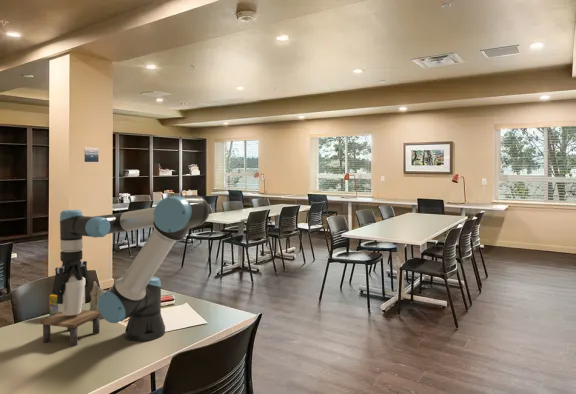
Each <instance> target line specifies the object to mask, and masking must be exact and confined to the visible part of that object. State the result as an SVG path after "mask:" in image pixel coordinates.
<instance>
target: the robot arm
mask: <svg viewBox="0 0 576 394" xmlns="http://www.w3.org/2000/svg"><path fill="white" fill-rule="evenodd" d="M209 215H210V206H209V203H208V202H207V200H206V199H205V198H204V197H203V196H200V195H197V194H191V195H190V194H188V195H171V196H168V197H165V198H162V199H161V200H160V201H159V202H158V203H157V204H156V205H155V207H149V208H147V207H146V208H142V209H136V210H131V211H124V212H119V213H112V214H105V215H104V214H102V215H96V216H95V215H94V216H86V215H83V211H82V210H80V209H65V210H62V211H61V212H60V214H59V235H60V236H59V237H60V238H59V239H60V243H59V244H60V246H59V247H60V256H59V257H60V262H62V264H61V266H60V267H55V269H54V271H55V276H54V281H53V285H52V286H53V287H52V291H51V295H52V294H53V295H57V303H58V312H66V295H64V292H65V289H66V283H67V282H68V281H69V278H70V277H72V275H74V277H75V278H76V279H77V280H82V277H84V278H85V287H84V295H83V302H82V305H85V304H86V292H87V291H86V289H87V288H88V287H89V285H90V283H91V282H90V277H89V272H88V267H87V263H88V261H86V260H83V250H82V249H83V248H84V247H83V237H89V238H103V237H105V236H107V235H110V234H117V233H123V232H128V231H135V230H140V229H148V228H153V230H152V231H151V233H150V234H149V236H148V238H147V240H146V241H145V242H144V244H143V246H142V247H141V249H140V251H139V252H138V254H136V256H135V258H134V260H133V261H132V263H131V264H130V266H129V267H128V270H126V273H125V274H124V276H121V277H119V278H118V279H116V280H115V282H114V284H113V285H112V286H111V287H110V288H111V289H110V288H109V289H110V290H109V289H108V290H105V291H106V292H104V293H103V294H101V295H100V297H99V299H98V308H99V312H100V314H101V316H102V317H103V318H104V319H103V320H105V321H106V322H108V323H110V324H111V323H112V324H117V323H119V322H123V321H124V320H126V319H128V321H127V324H126V327H125V331H124V333H125V335H124V337H125V338H126V339H128V340H131V341H134V342H135V341H136V342H144V341H151V340H155V339H158V338H160V337H162V336H164V335H165V333H166V325H165V322H164V319H163V316H162V311H161V307H162V306H161V305H162V301H161V300H162V285H161V283H162V282H161V279H160V278H159V277H158V276H154V275H155V274H156V272H157V271H158V269H159V268H160V266H161V265H162V263H163V261H164V260H165V259H166V257H167V256H168V254H170V253H169V252H170V251H171V249H172V247H174V245H175V243H176V242H180V241H182V240H183V239H184V237H185V236H186V235H187V233H188V232H189V230H190V229H191V228H196V227H199V226H201V225H203V224H204V223H206V221H207V220H208V218H209ZM60 291H61V292H60Z"/></svg>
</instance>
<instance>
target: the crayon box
mask: <svg viewBox="0 0 576 394" xmlns="http://www.w3.org/2000/svg"><path fill="white" fill-rule="evenodd" d="M48 297H49V300H48V301H49V303H48V304H49V317H51V316H53V315H56V314H58V313H60V312H58V303H57V295H53V294H52V293H51V294H49V296H48Z"/></svg>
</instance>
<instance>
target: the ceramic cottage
mask: <svg viewBox="0 0 576 394" xmlns="http://www.w3.org/2000/svg"><path fill="white" fill-rule="evenodd" d="M111 288H112V287H110V288H109V289H108V291H109V290H110V289H111ZM106 291H107V290H106V289H105V290H104V289H103V288H101V287H100V286H98V283H97V282H96V281H93V285H92V289H91V290H90V292H89V295H90V300H89V301H90V303H89V310H88V311H96V312H99V308H98V299H99V297H100V295H101V294H103V293H104V292H106ZM99 320H105V319H104V318H103V317H102V316H99Z"/></svg>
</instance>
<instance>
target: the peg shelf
mask: <svg viewBox="0 0 576 394" xmlns="http://www.w3.org/2000/svg"><path fill="white" fill-rule="evenodd" d="M99 316H101V314H100V312H96V311H89V310H86V309H81V313H79V314H76V315H70V316H69V315H63V312H60V313H58V314H56V315H53V316H51V317H50V316H49V317H46V318H44V319H41V320H40V321H39V322H40V323H39V324H40V325H42V333H43V334H42V338H43V339H42V342H43V343H45V344H46V343H51V337H52V336H51V334H52V333H51V326H52V327H60V328H66V331H68V332H69V338H70V339H69V345H70V347H76V346H78V327H80V326H83V325H84V324H86V323H89V322H90V321H92V335H98V334H100V319H99Z"/></svg>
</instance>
